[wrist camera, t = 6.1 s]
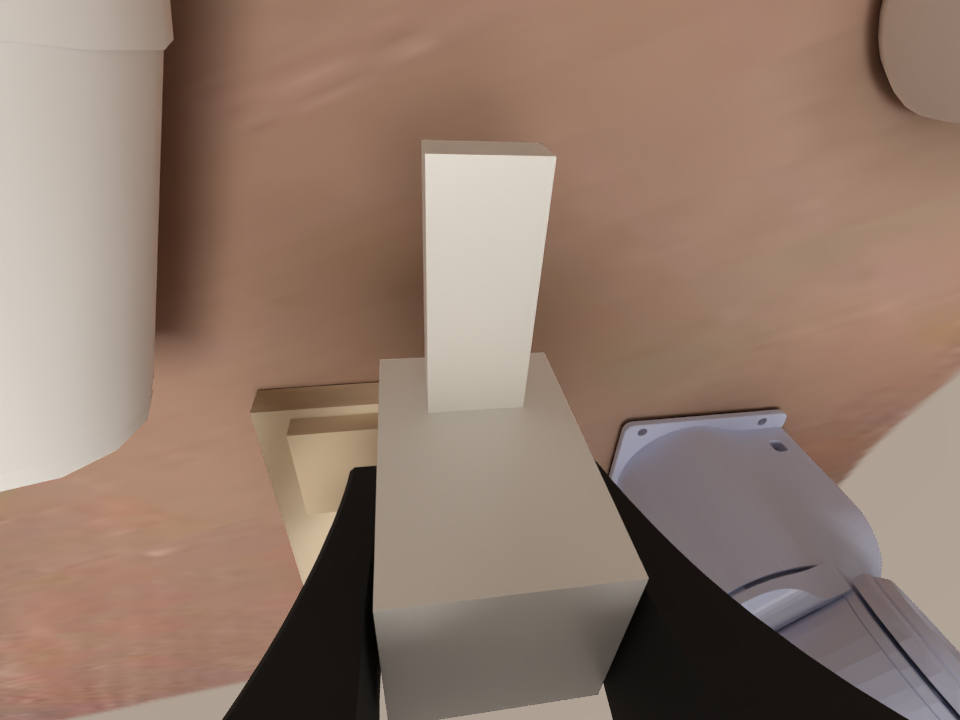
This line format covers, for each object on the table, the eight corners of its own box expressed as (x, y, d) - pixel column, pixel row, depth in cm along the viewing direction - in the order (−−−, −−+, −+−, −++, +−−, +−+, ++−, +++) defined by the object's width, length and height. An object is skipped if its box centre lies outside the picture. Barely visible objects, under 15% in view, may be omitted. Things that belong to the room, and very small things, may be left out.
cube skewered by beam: (577, 132, 9) (788, 262, 4) (512, 564, 17) (560, 779, 12) (360, 126, 9) (325, 269, 4) (397, 576, 17) (400, 808, 12)
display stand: (547, 371, 23) (562, 405, 21) (518, 574, 33) (526, 610, 31) (257, 390, 21) (244, 429, 19) (318, 599, 31) (313, 640, 29)
